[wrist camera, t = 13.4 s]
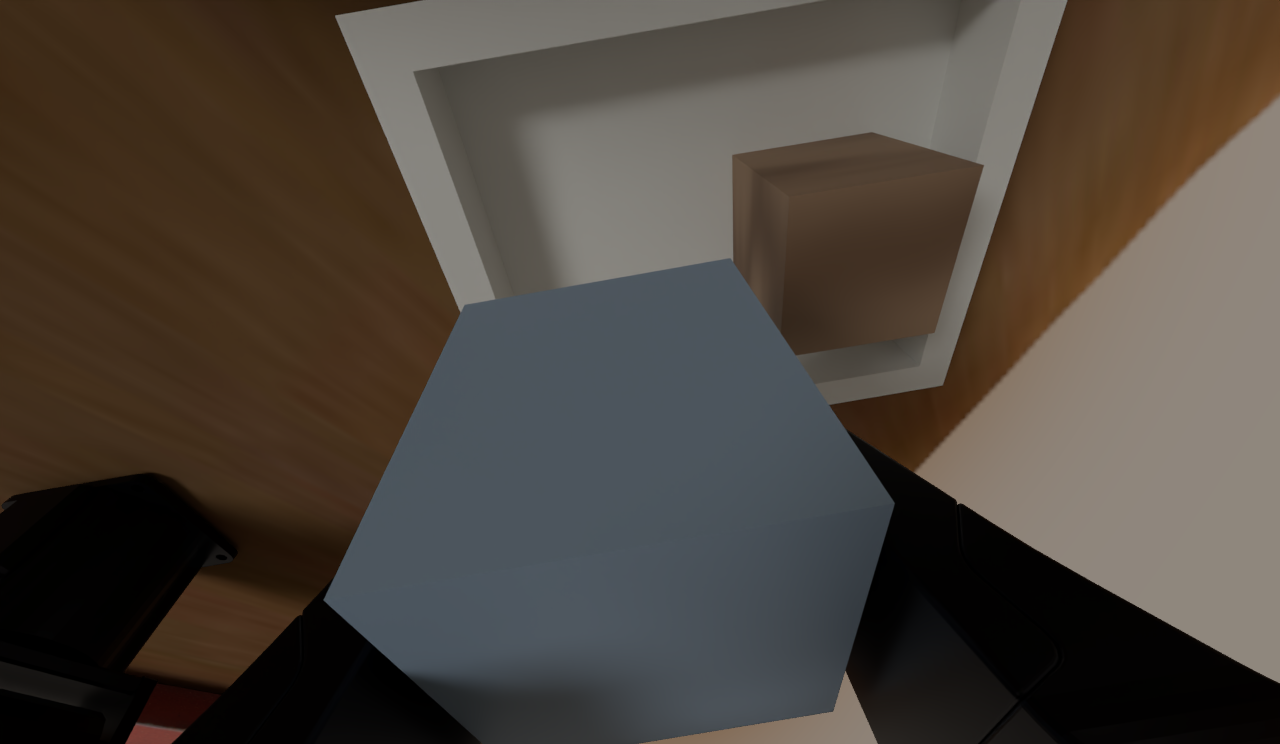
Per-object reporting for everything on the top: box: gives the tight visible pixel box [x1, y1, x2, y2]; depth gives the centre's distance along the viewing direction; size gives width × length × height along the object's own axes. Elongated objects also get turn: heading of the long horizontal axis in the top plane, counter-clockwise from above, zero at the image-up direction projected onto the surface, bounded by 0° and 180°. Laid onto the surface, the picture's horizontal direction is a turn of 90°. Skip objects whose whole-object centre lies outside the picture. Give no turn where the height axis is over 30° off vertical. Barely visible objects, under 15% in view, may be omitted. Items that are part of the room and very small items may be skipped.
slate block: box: [324, 258, 895, 744], centre depth 7 cm, size 4×4×5 cm
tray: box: [335, 0, 1067, 405], centre depth 15 cm, size 14×17×3 cm
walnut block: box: [732, 132, 984, 355], centre depth 14 cm, size 4×4×5 cm
